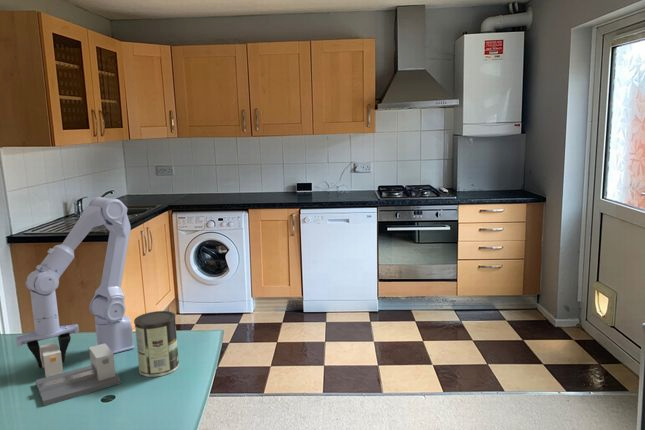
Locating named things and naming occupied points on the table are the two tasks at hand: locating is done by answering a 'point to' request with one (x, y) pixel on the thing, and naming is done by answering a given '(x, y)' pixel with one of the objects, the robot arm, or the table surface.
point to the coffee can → (156, 343)
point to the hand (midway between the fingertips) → (51, 364)
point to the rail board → (80, 378)
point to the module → (51, 359)
